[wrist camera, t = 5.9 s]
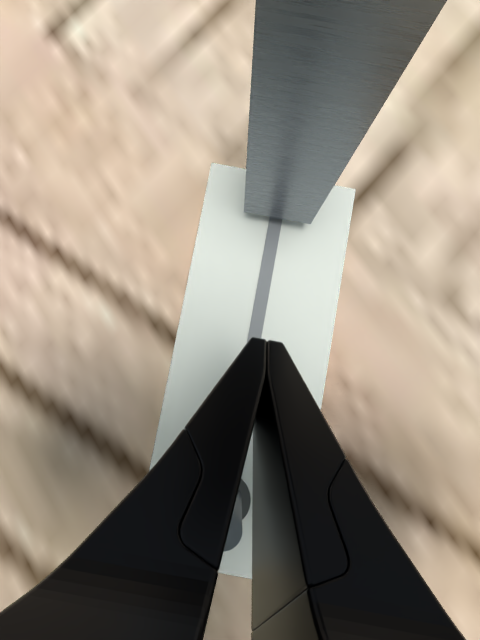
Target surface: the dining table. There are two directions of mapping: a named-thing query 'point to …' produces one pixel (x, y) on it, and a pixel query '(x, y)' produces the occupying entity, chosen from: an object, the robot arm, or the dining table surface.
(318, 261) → the bolt plate
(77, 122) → the dining table surface
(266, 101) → the gray metal block
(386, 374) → the dining table surface
